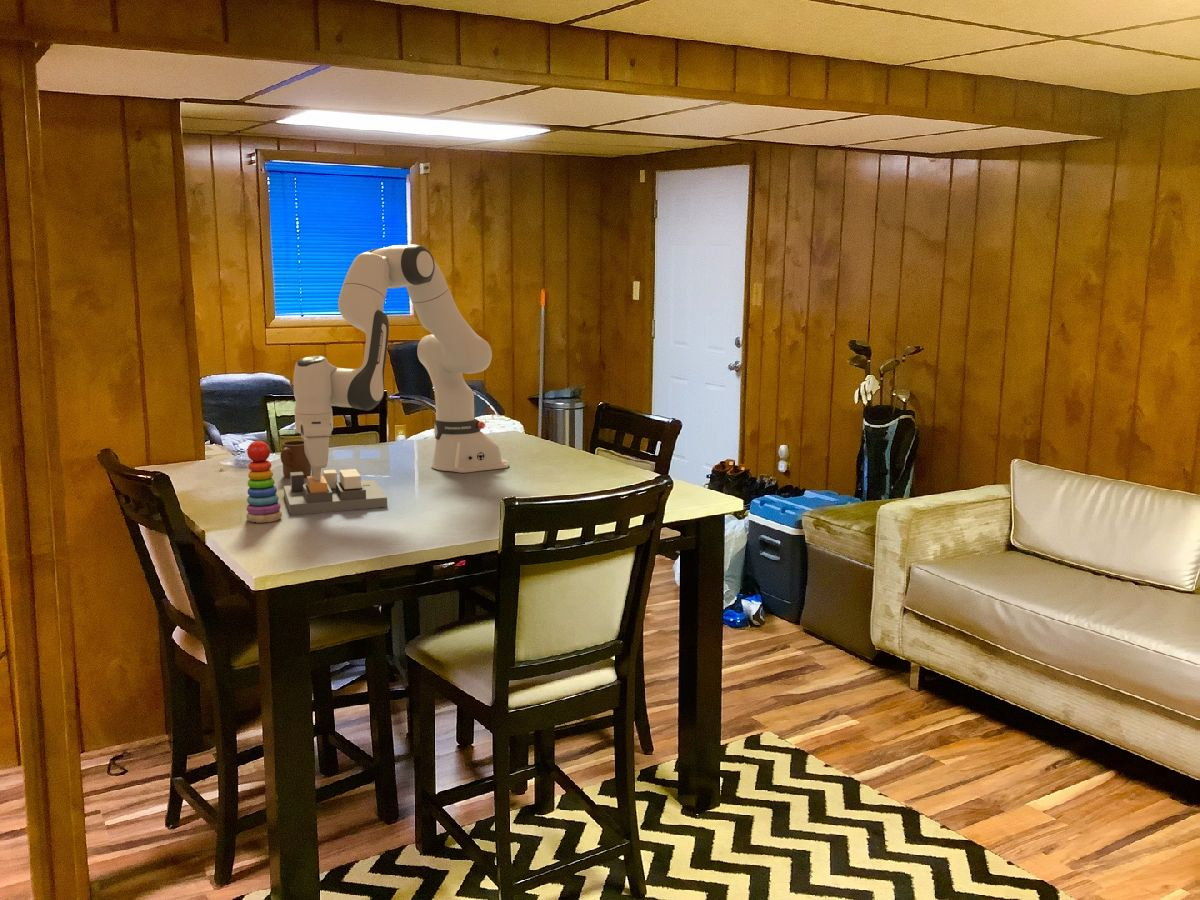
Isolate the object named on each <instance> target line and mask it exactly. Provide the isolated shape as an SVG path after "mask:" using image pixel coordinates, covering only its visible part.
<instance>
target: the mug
mask: <svg viewBox="0 0 1200 900" xmlns="http://www.w3.org/2000/svg"><path fill="white" fill-rule="evenodd" d="M280 451H281V452H280V454H279V455H280V461H281V463H282V473H283V474H282V475H283V477H285V478H288V479H290V472H303V474H304V478H307V476H312V470H311V465H310V463H309V461H308V459H307V457H306V455H305V451H304V440H290V441H285V442H282V444H281V450H280Z"/></svg>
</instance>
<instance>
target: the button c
mask: <svg viewBox="0 0 1200 900" xmlns="http://www.w3.org/2000/svg"><path fill="white" fill-rule="evenodd" d="M306 484H307V489H308V491H309V493H320V492H328V490H327V482H326V480H325V478H324V476H323V475H321V479H320V480H319V481H314V480H313V478H312V475H310V476H307V477H306Z"/></svg>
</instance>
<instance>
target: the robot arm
mask: <svg viewBox="0 0 1200 900" xmlns="http://www.w3.org/2000/svg"><path fill="white" fill-rule="evenodd" d="M400 288H406V290H407V293H408V296H409V298H410V302H411V304H412V305H413V307H414V311H415V313H416V316H417V318H418V321H419V322H420V324H421V326H422V327H423V328H424V329H425V330H426V331H428V332H429V333H431V334H427V335H424V336H423V337H422V338H421V339H420V340H419V342H418V344H417V349H416V350H417V351H416V353H417V354H416V355H417V358H418V360H419V362H420V363H421V364H422V365H423V367H424V368H425V370H426V371H427V373H428V375H429V377H430V380H431V383H432V387H433V392H434V397H435V417H436V418H435V419H434V427H433V428H434V431H433V432H434V439H435V444H434V445H435V447H434V448H435V449H434V455H433V460H432V463H431V468H432V469H435V470H438V471H445V472H455V473H460V474H462V473H472V472H483V471H492V470H500V469H506V468H508V467H509V466H510V464H509V461H508V460H507V459H505V458H503V457H502V455H501V454H502V453H501V449H500V446H499V445H498V443H497V442H495V441H494V440H493V439H492V438H490V437H489V436H488V435H486V434H485V433H483V431H482V430H483V429H485V428H486V423H485V422H484V421H482V420H478V419H477V418H475V395H474V391H473V390H472V388H471V387H470V386H469V385H468V384H467V383H466V381H465V379H464V375H463V374H467V375H469V374H477V373H481V372H484V371H485V370H487V369H488V368H489V366H490V364H491V362H492V360H493V352H492V348H491V345H490V344H489V342H488V341H487V340H485V339H484V338H482V337H481V336H480V335H479V334H477V333H476V332H475V330H474V329H473V328H472V327H471V326H470V325H469V323H468V322H467V320H466V319H465V318H464V316H463V315H462V314H461V312H460V310H459V308H458V307H457V304H456V301H455V299H454V297H453V295H452V292H451V290H450V287H449V285H448V282H447V280H446V278H445V276H444V274H443V272H442V270H441V268H440V266H439V265H438V263H437V262H436V261H435V259H434V257H433V255H432V253H431V252H430V250H428V248H427V247H425V246H423V245H419V244H409V245H407V244H403V245H402V244H398V245H397V244H396V245H390V246H386V247H382V248H372V249H371V250H367V251H365V252H361V253H360V254H358V255H357V256H356V257H355V258H354V259H353V261H352V262H351V265H350V266H349V269H348V270H347V273H346V275H345V278H344V280H343V283H342V286H341V290H340V293H339V297H338V300H337V301H338V303H337V304H338V305H337V307H338V310H339V313H340V315H341V317H342V318H343V319H344V320H345V321H346V323H348V324H350V326H353V327H354V328H356V329H357V330H359V331H362V332H364V333H365V339H366V340H365V346H364V353H363V354H364V355H363V360H362V365H361V366H360V367H357V368H348V367H347V368H345V367H338V366H335V365H333V364H331V363H330V362H329V360H328V359H327V357H325V356H322V355H312V356H306V357H302V358H299V359H298V360H297V361H296V363H295V365H294V370H293V396H294V399H295V407H294V423H295V424H294V429H295V430H294V431H295V432H296V433H298V434H300V438H301V439H302V440H303V441H304V451H305V455H306V457H307V459H308V461H309V463H310V465H311V476H312V478H313V480H314V481H319V480H320V479H321V476H322V475H321V473H322V469H325V468H327V467H328V462H329V452H330V451H329V448H330V437H331V436H332V432H333V430H334V422H333V421H334V419H333V408H332V407H339V408H353V409H355V410H361V411H371V410H373V409H374V408H376V407H377V406H378V405H379V404H380V403H381V402H382V400H383V398H384V395H385V368H386V361H387V360H386V359H387V351H388V344H389V336H390V335H389V333H390V323H389V322H390V321H389V318H388V316H387V314H386V313H385V312H384V303H385V300H386V296H387V292H388V289H400Z"/></svg>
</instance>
